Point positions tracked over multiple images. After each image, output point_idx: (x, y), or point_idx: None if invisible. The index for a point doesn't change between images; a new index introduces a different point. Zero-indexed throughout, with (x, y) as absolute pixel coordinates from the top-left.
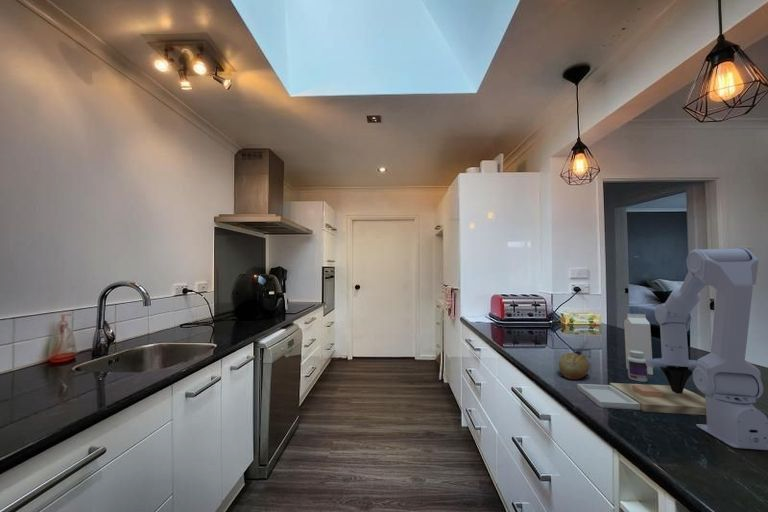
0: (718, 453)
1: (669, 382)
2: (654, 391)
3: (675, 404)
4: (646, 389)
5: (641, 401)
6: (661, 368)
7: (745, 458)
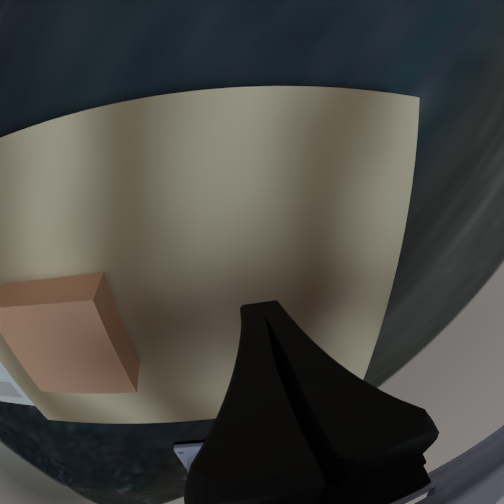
0: (158, 483)
1: (239, 354)
2: (92, 392)
3: (162, 414)
4: (55, 372)
5: (40, 404)
6: (193, 475)
7: None
